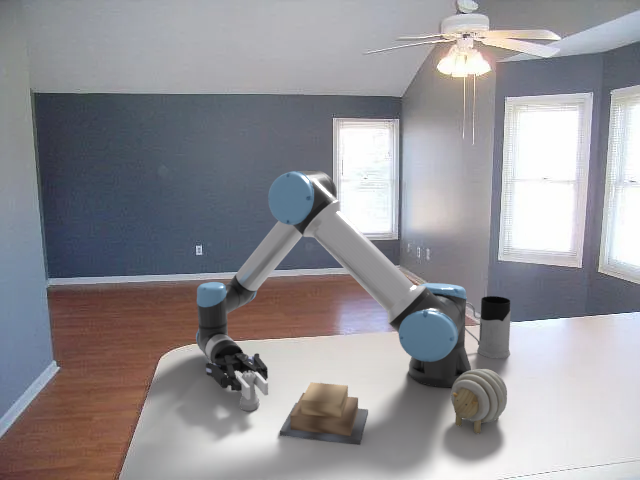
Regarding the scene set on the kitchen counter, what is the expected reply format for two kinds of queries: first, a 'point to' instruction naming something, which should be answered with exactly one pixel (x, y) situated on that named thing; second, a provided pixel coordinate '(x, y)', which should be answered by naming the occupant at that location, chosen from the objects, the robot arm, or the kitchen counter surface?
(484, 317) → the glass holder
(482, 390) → the toy sheep
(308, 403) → the plinth
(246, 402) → the rook chess piece
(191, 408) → the kitchen counter surface
